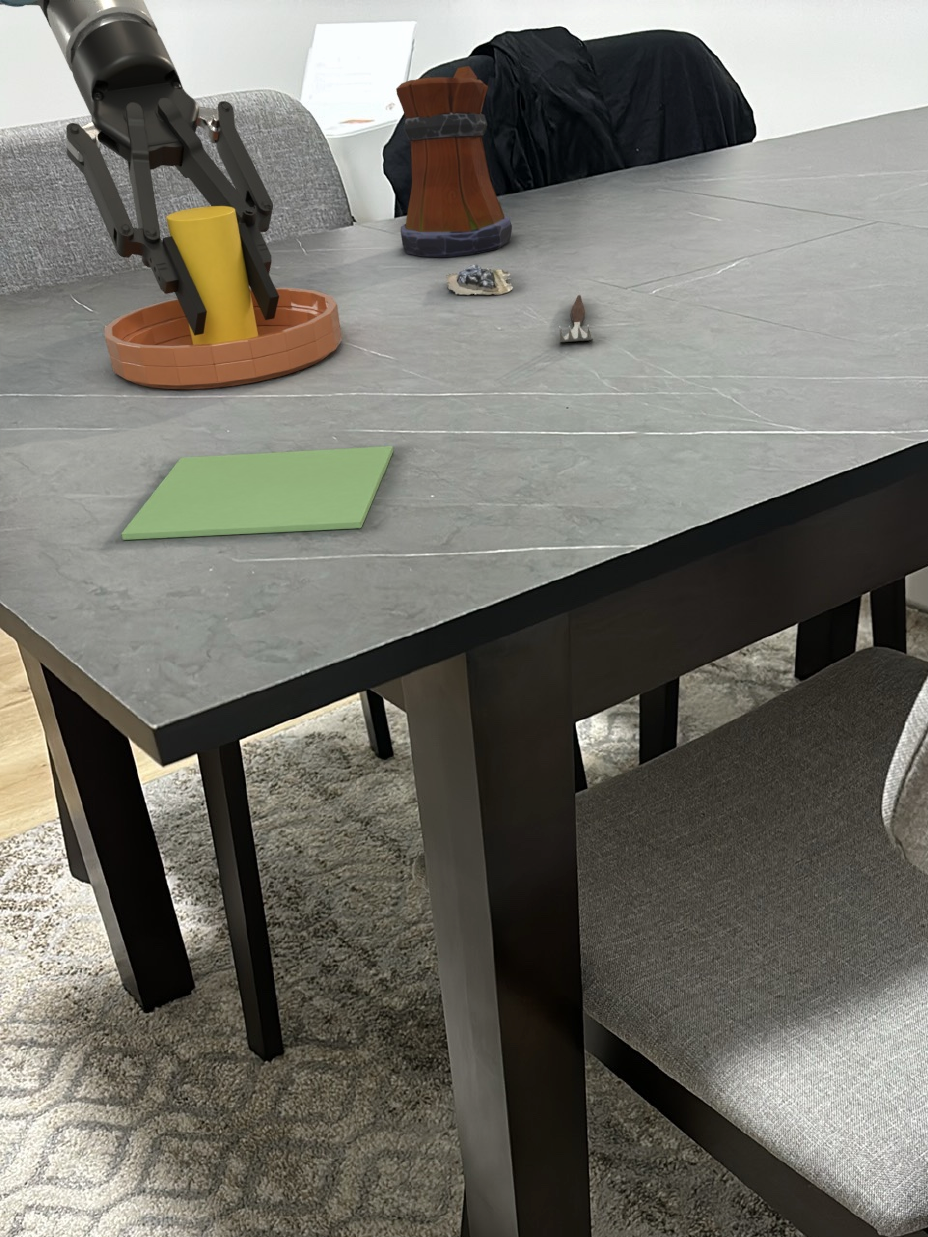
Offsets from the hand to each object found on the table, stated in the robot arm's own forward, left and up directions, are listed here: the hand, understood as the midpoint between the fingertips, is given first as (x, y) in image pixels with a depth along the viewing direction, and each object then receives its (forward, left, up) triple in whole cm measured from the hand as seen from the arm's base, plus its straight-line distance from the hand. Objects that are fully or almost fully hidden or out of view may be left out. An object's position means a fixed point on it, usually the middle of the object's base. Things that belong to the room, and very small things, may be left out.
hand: (236, 315), depth 103 cm
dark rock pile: (+17, +22, -4) cm, 28 cm away
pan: (-2, +3, -4) cm, 5 cm away
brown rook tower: (+13, +44, -4) cm, 46 cm away
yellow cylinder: (-2, +3, -3) cm, 5 cm away
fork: (+26, +6, -4) cm, 27 cm away
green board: (+8, -29, -4) cm, 30 cm away
